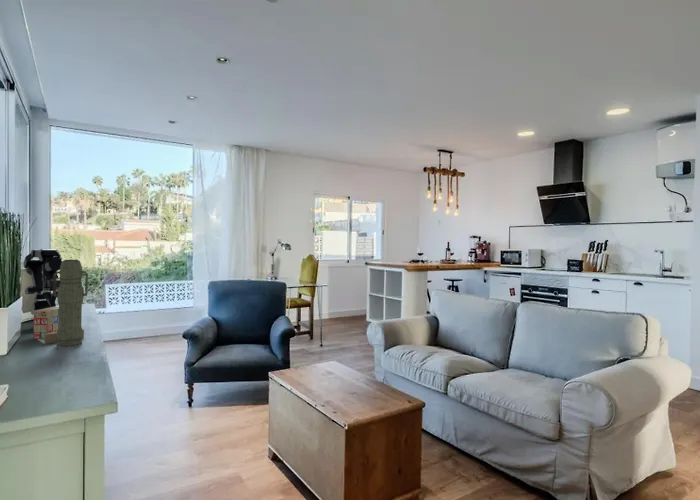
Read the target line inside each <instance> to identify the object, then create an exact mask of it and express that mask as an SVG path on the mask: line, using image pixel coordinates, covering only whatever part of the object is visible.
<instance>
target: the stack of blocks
mask: <svg viewBox="0 0 700 500" xmlns="http://www.w3.org/2000/svg"><path fill="white" fill-rule="evenodd" d="M32 319H33V320H32V321H33V325H34V326H33V325H32V326H33V334H32V335H33V340H38V339H44V334H49V333H57V330H58V326H59V306H55V307H50V308H45V309H40V310H35V311H34V315H33V318H32Z"/></svg>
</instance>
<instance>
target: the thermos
mask: <svg viewBox="0 0 700 500" xmlns="http://www.w3.org/2000/svg"><path fill="white" fill-rule="evenodd" d="M61 261H62V263H61V266H60V270H59V271H57V272H56V273H55V274H54V275H53V291H52V293H53V295H54V296H55V297H57V298H56V299H57V305H58V307H59V326H58V330H57V343H56V347H58V348H71V347H77V346H80V345H82V344H83V339H82V338H83V330H82V329H83V327H82V317H83V316H82V314H83V313H82V312H83V309H82V308H83V305H82V304H83V302H84V297H87V296H88V291H89V287H88V286H89V285H88V284H89V274H88V272H87V271H85V270H83V266H82V263H81V261H80V260H78V259H64V260H61ZM58 274H59V279H60V285H59V288H58V294H56V275H58ZM83 274H84V275H85V283H84V285H85V289H84V287H83V285H82V284H83V283H82V278H83ZM84 290H85V291H84Z"/></svg>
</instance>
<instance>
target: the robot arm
mask: <svg viewBox="0 0 700 500" xmlns="http://www.w3.org/2000/svg"><path fill="white" fill-rule="evenodd" d="M23 260H24V261H23V268H24V269H25V272H26V273H27V274H28V275H29V276H31V280H32V285H33V286H31V285H30V286H27V287H26V288H25V289H24V295H34V294H35V297H34V300H33V303H32V305H31V308H30V314H31V315H33V316H34V311H35V310H40V309H45V308H50V307H57V303H56V300H57V299H58V298H57V297H55V296H54V295H53V275H54V274H55V273H56V272H59V271H60V266H61V263H62V261H63V256H62V255H61V254H60V252H59V251H58V249H56V248H40V249H39V248H38V249H37V248H36V249H35V248H34V249H31V251H30V253H29V254H27V255H26V256H25V257H24V259H23ZM59 285H60V277H59V275H58V274H57V275H56V294H58V288H59ZM32 326H33V327H34V325H32Z"/></svg>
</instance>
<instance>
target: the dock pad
mask: <svg viewBox="0 0 700 500" xmlns="http://www.w3.org/2000/svg"><path fill="white" fill-rule="evenodd" d="M82 330H83V338H82V340H84V339H85V329H84V328H82ZM37 340H38V341H39V342H41V343H42V344H44V345H49V344H57V333H49V334H44V339H37Z"/></svg>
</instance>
